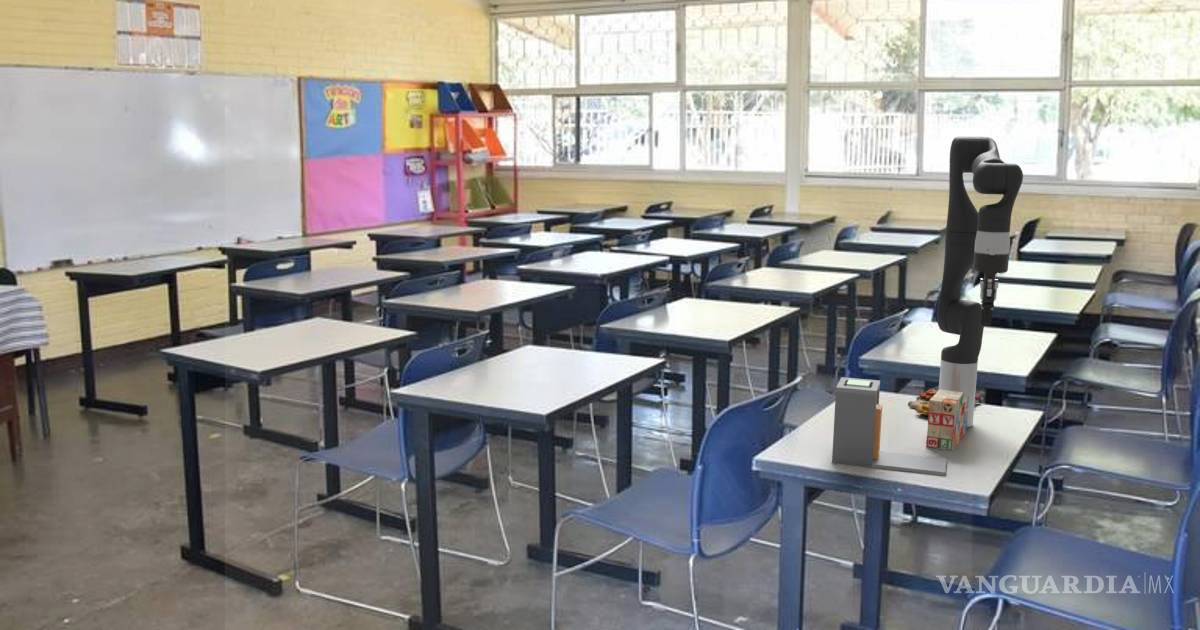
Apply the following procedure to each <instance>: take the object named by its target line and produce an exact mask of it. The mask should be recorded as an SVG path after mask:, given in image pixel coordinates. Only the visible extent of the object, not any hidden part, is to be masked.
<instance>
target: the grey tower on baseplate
mask: <svg viewBox="0 0 1200 630" xmlns="http://www.w3.org/2000/svg"><path fill="white" fill-rule="evenodd" d="M849 379H851V380H862V381H871V383H870V388H865V387H854V386H846V384H847V382H848V380H849ZM880 390H881V380H876V379H866V378H865V379H864V378H857V377H856V378H855V377H845V376H843V377H840V378H839V381H838V383H837V385H836V386H835V400H834V401H835V402H834V418H833V433H832V434H833V435H832V436H833V438H832V455H831V464H832V463H833V464H840V465H847V466H849V465H850V466H858V467H865V466H866V468H873V467H877V468H876V469H882V468H885V469H884V470H891V469H894V470H893V471H899V470H902V471H901V472H908V471H912V472H911V473H917V472H919V473H918V474H927V475H935V476H946V468H947V458H946V457H938V456H929V455H928V456H927V455H919V454H909V453H899V452H889V451H881V450H880V451H879V457H878V460H877V459H873V451H874V435H875V419H876V404H879V405H880V393H881V392H880Z"/></svg>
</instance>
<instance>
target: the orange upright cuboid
mask: <svg viewBox="0 0 1200 630" xmlns="http://www.w3.org/2000/svg"><path fill="white" fill-rule="evenodd" d="M882 416H883V404H880V403H879V404H876V419H875V435H874V451H873V459H877V460H878V457H879V451H881V450H880V449H881V447H880V446H881V433H882V431H881V430H882V418H883V417H882Z"/></svg>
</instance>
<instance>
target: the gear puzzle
mask: <svg viewBox="0 0 1200 630" xmlns="http://www.w3.org/2000/svg"><path fill="white" fill-rule="evenodd" d="M938 390H939V386H935V387H932V388H929V389H928V390H926V391H925V392H921V393H919V395H918V396H916V398H915V399H916V400H915V401H913V400H910V401H908V402H907V405H908V406H909V408H911V409H914V410H915V412H916V413H917V414H922V415H924V416H928V414H929V401H930V399H931V398H932V397H933V396H934V395H935V394H936V393H937V391H938ZM983 399H984V397H983V395H982V394H981V393H979V392H977V391H976V392H975V404H974V406H975V405H976V404H979V401H983Z"/></svg>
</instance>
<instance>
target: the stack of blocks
mask: <svg viewBox="0 0 1200 630" xmlns="http://www.w3.org/2000/svg"><path fill="white" fill-rule="evenodd" d="M963 395H964V392H957V391H948V390H940V389H939V390H938V391H937V393H936V394H935V395H934V396H933V397H932V398H931V399H930V401H929V414H928V415H927V431H926V432H927V433H926V444H925V446H926V448H929V447H932V448H931V449H936V448H938V450H943V449H945V450H944V451H950V450H951V452H952V451H953V450H954V448H956V446H957V445H958V443H959V442H960V440H961V438H962V437H963V436H964V435H965V433H966V432H967V430H968V427H967V418H968V398H969V396H963Z"/></svg>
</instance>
